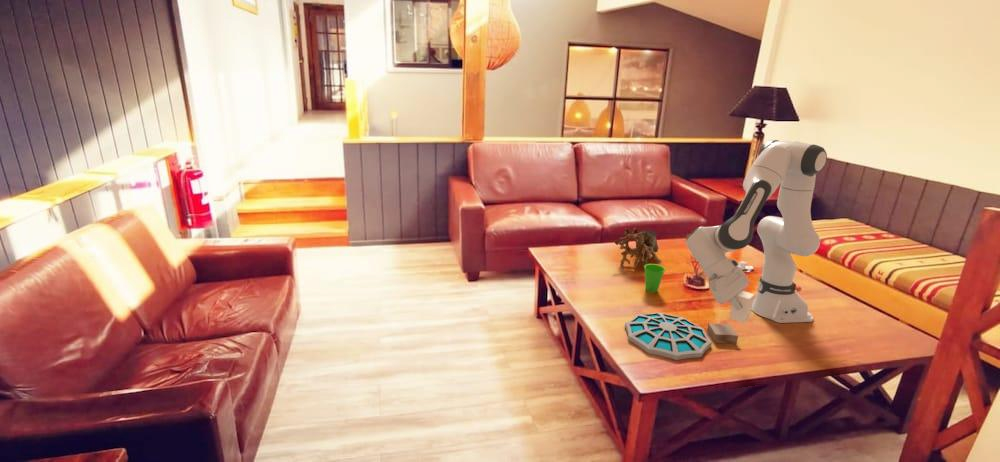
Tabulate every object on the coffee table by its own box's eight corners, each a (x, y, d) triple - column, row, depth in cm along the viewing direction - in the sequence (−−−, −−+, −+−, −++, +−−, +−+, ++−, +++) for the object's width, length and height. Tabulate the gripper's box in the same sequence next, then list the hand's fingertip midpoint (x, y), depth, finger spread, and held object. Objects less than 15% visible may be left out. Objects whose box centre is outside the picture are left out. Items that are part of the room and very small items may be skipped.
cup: (663, 295, 212) (666, 272, 208) (641, 293, 213) (644, 270, 210) (660, 287, 220) (664, 264, 216) (640, 284, 222) (643, 262, 218)
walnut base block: (728, 332, 183) (730, 324, 182) (736, 344, 176) (738, 335, 175) (706, 331, 184) (708, 323, 183) (713, 342, 176) (715, 334, 175)
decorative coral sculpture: (669, 241, 256) (675, 250, 229) (643, 273, 262) (646, 285, 234) (631, 214, 259) (632, 220, 232) (606, 246, 265) (604, 255, 237)
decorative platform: (621, 314, 196) (622, 303, 194) (695, 320, 193) (697, 308, 191) (632, 357, 167) (633, 345, 165) (720, 365, 164) (722, 352, 162)
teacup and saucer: (753, 269, 243) (755, 261, 242) (751, 274, 237) (753, 267, 235) (734, 265, 247) (735, 258, 246) (732, 270, 241) (733, 262, 240)
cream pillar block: (734, 312, 169) (739, 289, 166) (749, 318, 165) (754, 294, 162) (728, 317, 165) (733, 294, 162) (744, 323, 162) (749, 299, 159)
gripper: (714, 275, 157) (740, 312, 154) (738, 258, 171) (762, 292, 168) (699, 283, 162) (723, 319, 159) (723, 266, 176) (746, 300, 172)
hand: (743, 305), depth 163 cm, fingers closed on cream pillar block, 5 cm apart
